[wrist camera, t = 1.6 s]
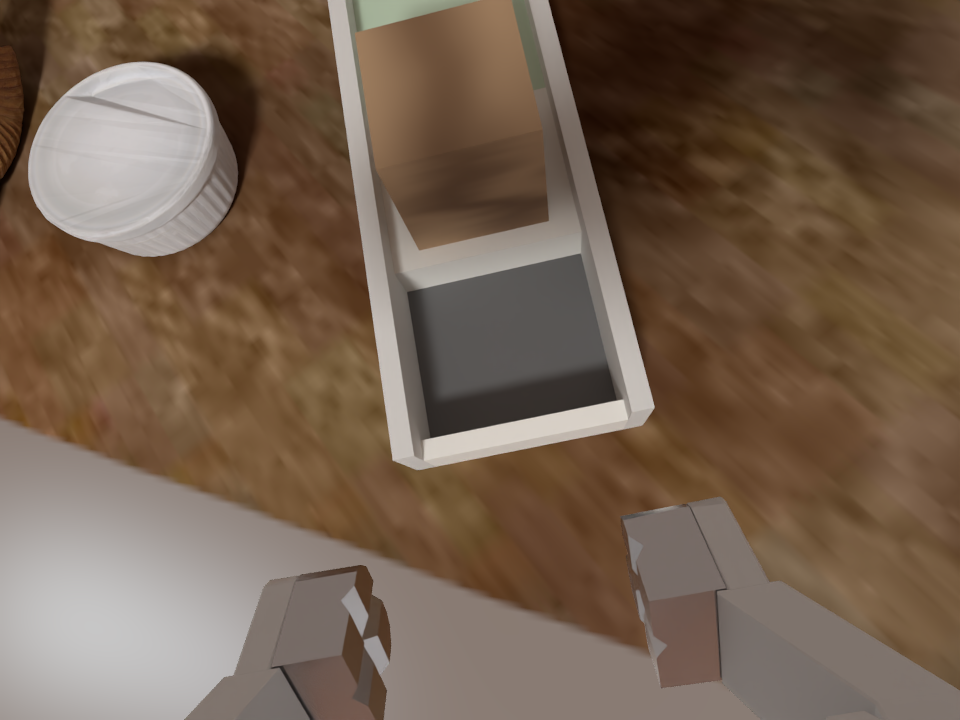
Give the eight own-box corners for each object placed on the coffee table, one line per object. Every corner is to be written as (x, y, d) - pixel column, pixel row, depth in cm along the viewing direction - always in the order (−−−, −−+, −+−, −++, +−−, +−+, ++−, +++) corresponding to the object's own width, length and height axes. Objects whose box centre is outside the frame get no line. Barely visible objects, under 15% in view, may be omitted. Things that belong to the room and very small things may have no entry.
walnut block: (522, 108, 36) (509, -8, 28) (548, 220, 34) (542, 129, 26) (400, 138, 36) (354, 32, 28) (419, 250, 34) (375, 169, 26)
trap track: (642, 425, 33) (654, 407, 28) (417, 470, 34) (392, 460, 29) (501, -130, 44) (493, -210, 39) (333, -84, 45) (305, -157, 40)
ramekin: (244, 95, 42) (200, 35, 37) (267, 245, 39) (222, 202, 34) (87, 142, 43) (23, 90, 38) (96, 293, 40) (27, 258, 35)
